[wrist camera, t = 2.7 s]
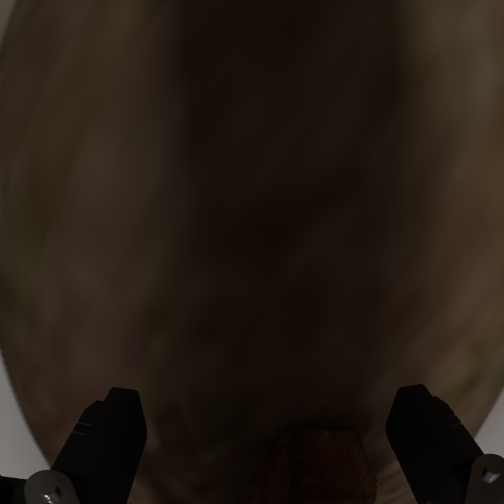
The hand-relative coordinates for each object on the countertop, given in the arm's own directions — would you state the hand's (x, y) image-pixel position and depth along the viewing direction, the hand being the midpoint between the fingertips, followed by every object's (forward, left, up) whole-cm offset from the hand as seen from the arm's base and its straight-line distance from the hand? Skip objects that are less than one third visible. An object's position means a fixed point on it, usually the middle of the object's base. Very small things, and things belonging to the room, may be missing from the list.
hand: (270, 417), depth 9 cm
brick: (+9, +2, -4) cm, 10 cm away
